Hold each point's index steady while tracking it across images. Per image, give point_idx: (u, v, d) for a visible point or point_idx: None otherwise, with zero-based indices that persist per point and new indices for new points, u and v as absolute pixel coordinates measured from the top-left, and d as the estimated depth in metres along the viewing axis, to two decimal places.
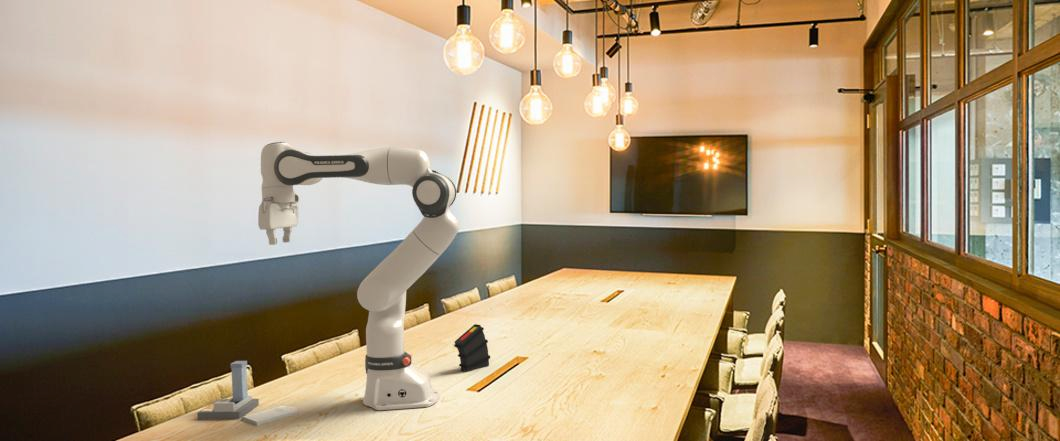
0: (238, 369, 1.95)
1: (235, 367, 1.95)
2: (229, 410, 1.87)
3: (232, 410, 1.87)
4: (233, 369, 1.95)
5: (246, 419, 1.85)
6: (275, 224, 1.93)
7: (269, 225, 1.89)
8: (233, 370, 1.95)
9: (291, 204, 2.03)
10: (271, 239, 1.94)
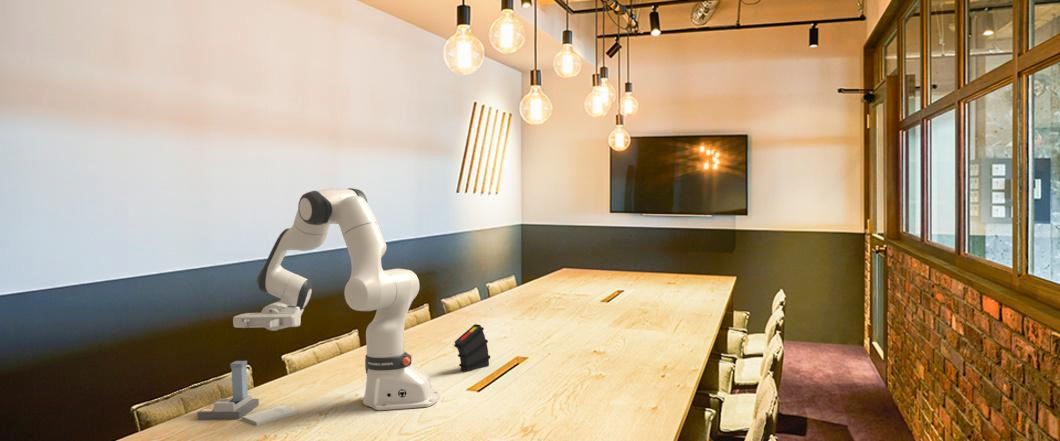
0: (238, 369, 1.95)
1: (235, 367, 1.95)
2: (229, 410, 1.87)
3: (232, 410, 1.87)
4: (233, 369, 1.95)
5: (246, 419, 1.85)
6: (244, 316, 2.15)
7: None
8: (233, 370, 1.95)
9: None
10: None
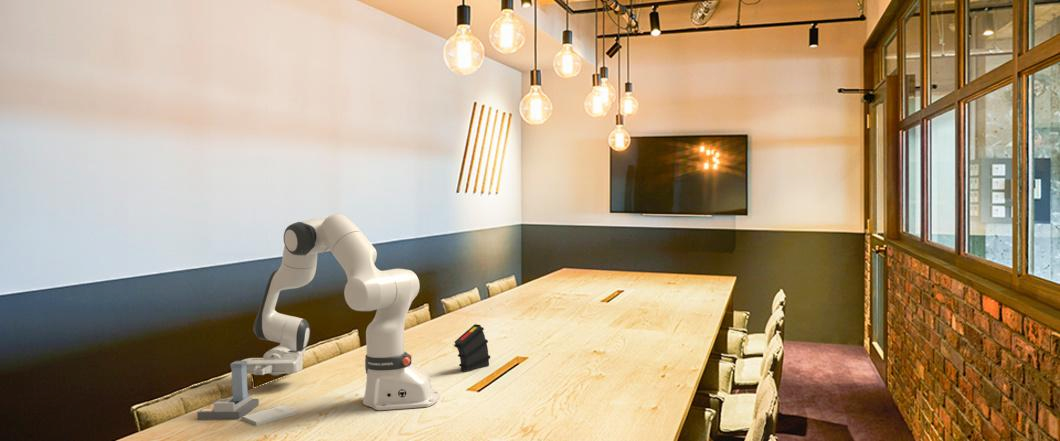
0: (238, 369, 1.95)
1: (235, 367, 1.95)
2: (229, 410, 1.87)
3: (232, 410, 1.87)
4: (233, 369, 1.95)
5: (246, 419, 1.85)
6: None
7: None
8: (233, 370, 1.95)
9: (283, 355, 2.20)
10: None
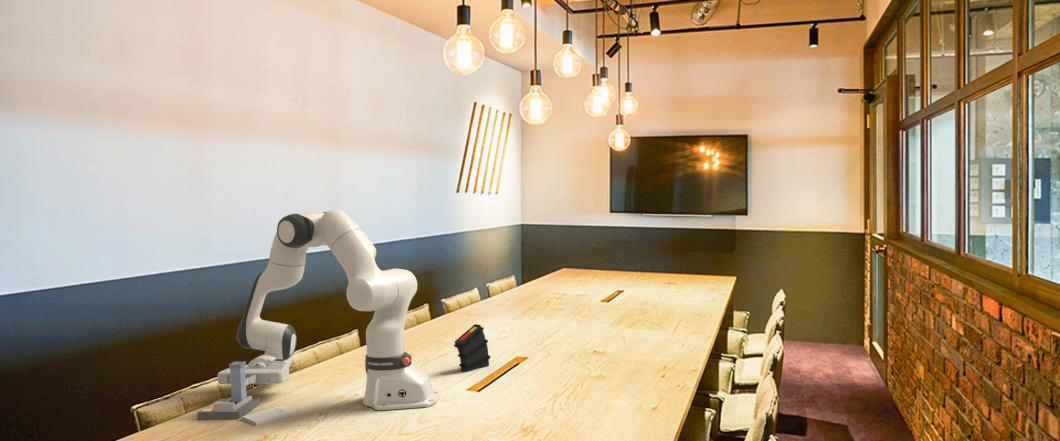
0: (236, 369, 1.95)
1: (234, 367, 1.94)
2: (229, 410, 1.87)
3: (232, 410, 1.87)
4: (232, 370, 1.95)
5: (245, 419, 1.85)
6: (229, 371, 2.04)
7: (218, 373, 2.04)
8: (232, 371, 1.95)
9: (269, 364, 2.09)
10: None
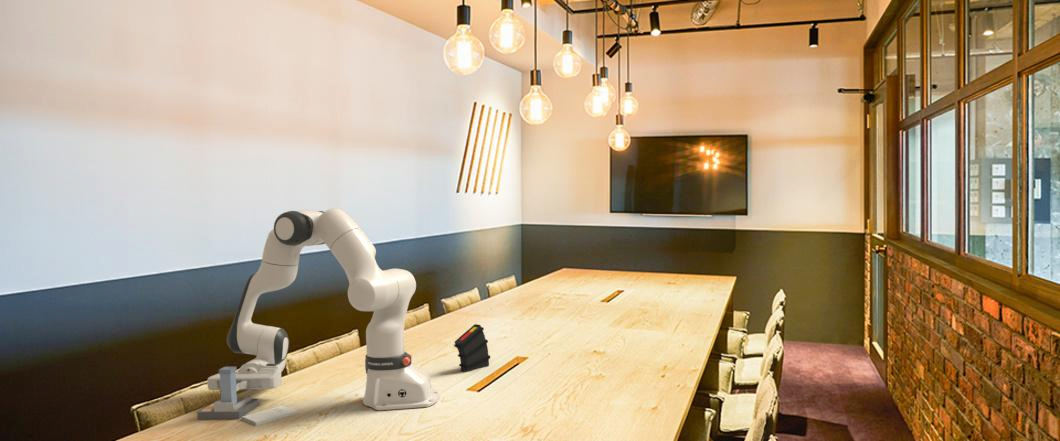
0: (226, 375, 1.89)
1: (224, 373, 1.89)
2: (229, 410, 1.87)
3: (232, 410, 1.87)
4: (222, 375, 1.89)
5: (245, 419, 1.85)
6: (219, 377, 1.98)
7: (208, 378, 1.98)
8: (222, 376, 1.89)
9: (260, 368, 2.03)
10: None
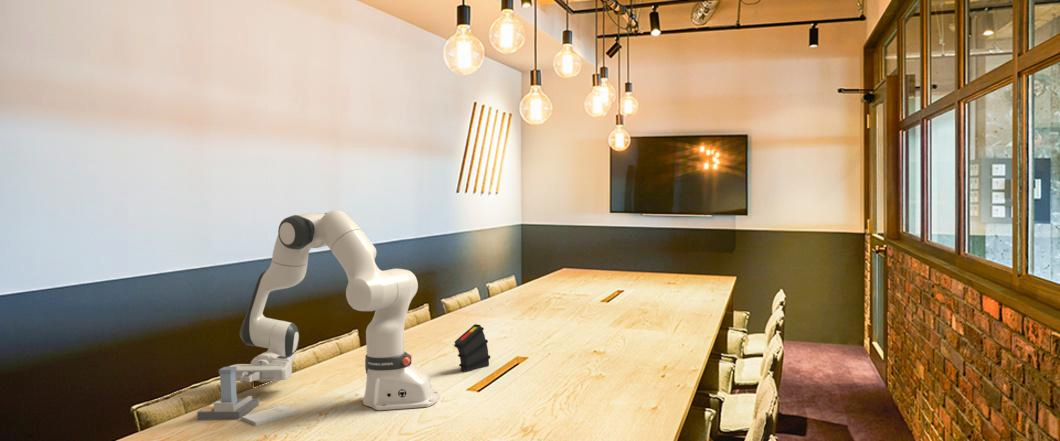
0: (226, 375, 1.89)
1: (224, 373, 1.89)
2: (229, 410, 1.87)
3: (232, 410, 1.87)
4: (222, 375, 1.89)
5: (245, 419, 1.85)
6: None
7: None
8: (222, 376, 1.89)
9: (272, 361, 2.12)
10: None
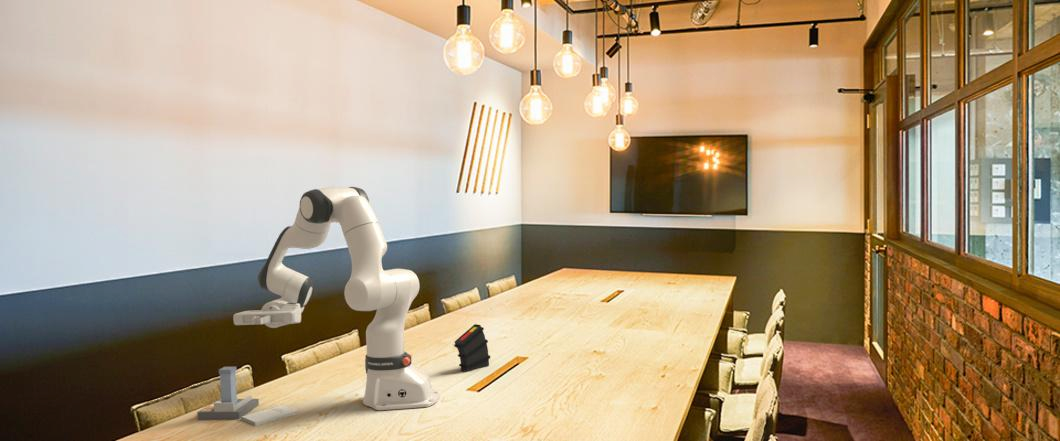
0: (226, 375, 1.89)
1: (224, 373, 1.89)
2: (229, 410, 1.87)
3: (232, 410, 1.87)
4: (222, 375, 1.89)
5: (245, 419, 1.85)
6: (244, 313, 2.15)
7: (234, 314, 2.14)
8: (222, 376, 1.89)
9: None
10: None
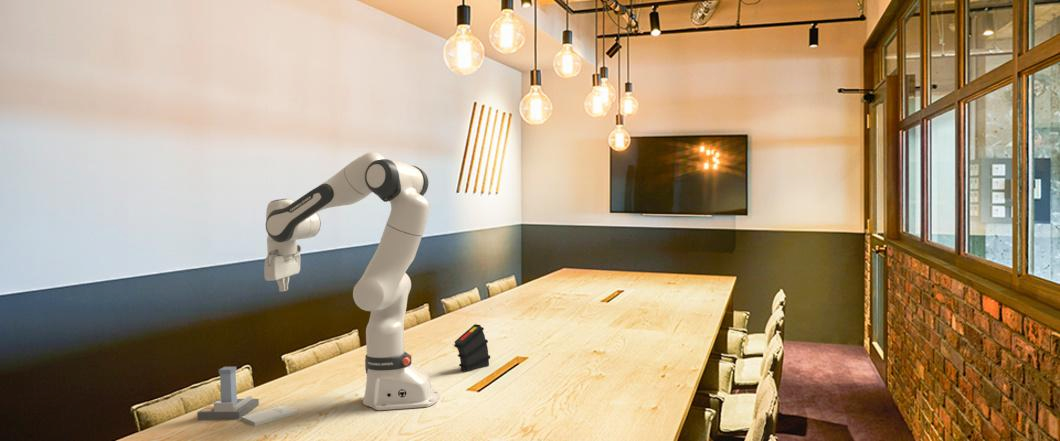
0: (226, 375, 1.89)
1: (224, 373, 1.89)
2: (229, 410, 1.87)
3: (232, 410, 1.87)
4: (222, 375, 1.89)
5: (244, 419, 1.85)
6: (279, 275, 2.12)
7: (274, 277, 2.08)
8: (222, 376, 1.89)
9: (294, 254, 2.22)
10: (281, 286, 2.17)
